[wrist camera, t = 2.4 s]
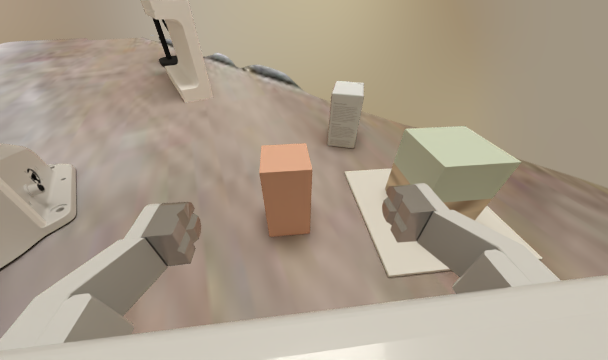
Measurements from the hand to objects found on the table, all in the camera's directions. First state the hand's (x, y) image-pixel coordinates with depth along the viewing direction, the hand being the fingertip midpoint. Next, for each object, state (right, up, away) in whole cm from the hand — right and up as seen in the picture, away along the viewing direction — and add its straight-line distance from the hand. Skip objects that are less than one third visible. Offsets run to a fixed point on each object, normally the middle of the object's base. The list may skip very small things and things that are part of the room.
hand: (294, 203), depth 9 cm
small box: (+9, +10, +37) cm, 39 cm away
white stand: (-40, +34, +66) cm, 84 cm away
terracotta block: (-2, -4, +19) cm, 20 cm away
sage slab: (+17, +1, +18) cm, 25 cm away
